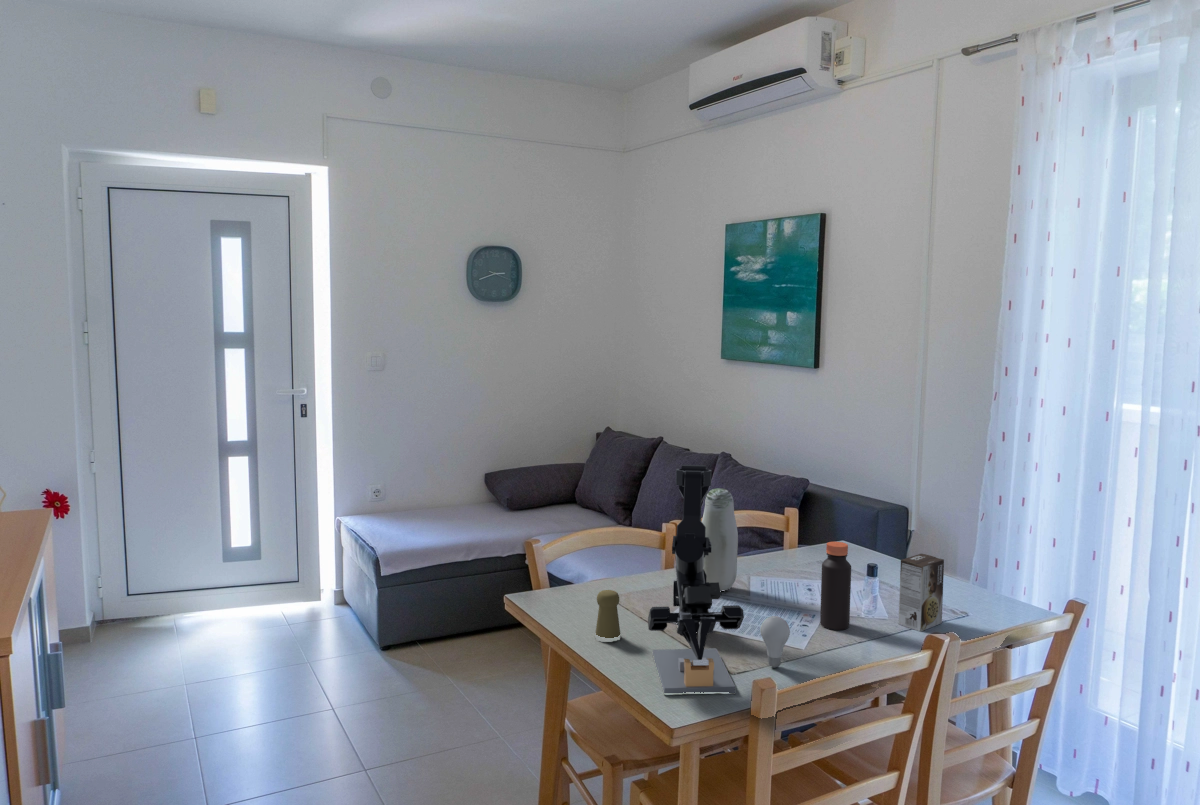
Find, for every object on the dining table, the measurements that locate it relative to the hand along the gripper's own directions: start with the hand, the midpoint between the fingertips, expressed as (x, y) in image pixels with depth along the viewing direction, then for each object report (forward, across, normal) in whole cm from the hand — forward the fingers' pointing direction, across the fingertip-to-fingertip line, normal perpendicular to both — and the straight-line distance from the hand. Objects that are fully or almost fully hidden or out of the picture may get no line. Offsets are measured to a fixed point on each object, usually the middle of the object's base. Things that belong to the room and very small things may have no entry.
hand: (700, 659), depth 161 cm
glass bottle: (-38, +16, +49) cm, 64 cm away
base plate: (-1, 0, +12) cm, 12 cm away
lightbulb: (-3, +18, +13) cm, 23 cm away
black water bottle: (-19, +39, +30) cm, 53 cm away
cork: (-16, -16, +26) cm, 34 cm away
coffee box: (-19, +60, +30) cm, 70 cm away
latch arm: (0, 0, +4) cm, 4 cm away
